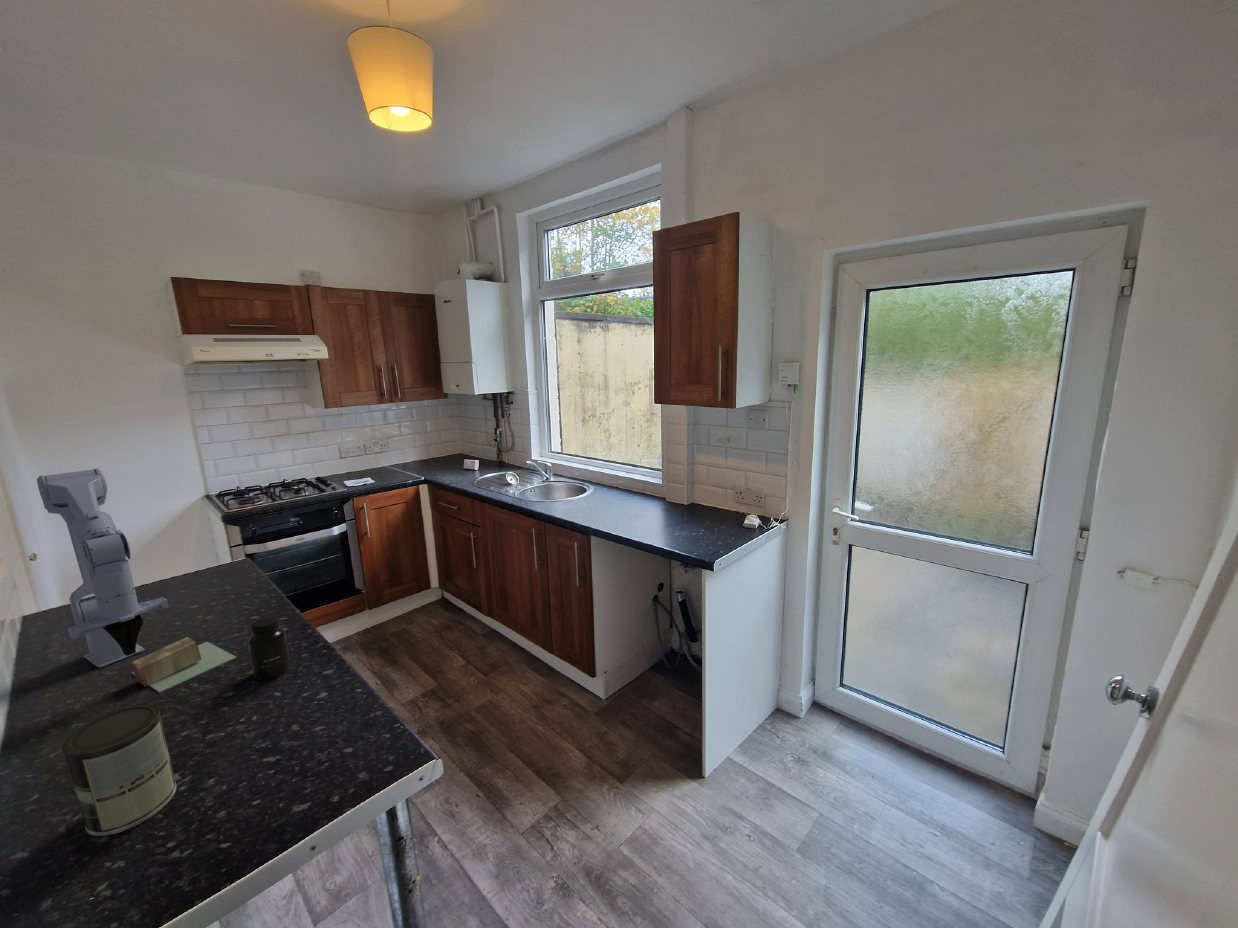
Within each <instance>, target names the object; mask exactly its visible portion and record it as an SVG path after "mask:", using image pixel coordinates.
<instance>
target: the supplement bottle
mask: <svg viewBox="0 0 1238 928" xmlns="http://www.w3.org/2000/svg"><path fill="white" fill-rule="evenodd" d="M250 627H251V634H252V635H250V637H249V638H248V641H247V646H248V652H249V658H250V659H249V660H250V665H251V671H252V676H253V677H254V678H255V679H256V680H260V681H261V680H262V681H264V680H270V679H273V678H276V677H279V676H280V675H283V674H284V673H286V672H287V671H288V669H289V668H290V665H291V662H290V661H291V660H290V653H289V646H288V640H287V632H286V631H285V630H284V629H283V628H282V627H280V621H279V619H278V617H276V616H266V617H262V618H259V619H257V620H255V621H253V622H252V623H251V626H250Z"/></svg>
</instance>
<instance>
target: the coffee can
mask: <svg viewBox="0 0 1238 928" xmlns="http://www.w3.org/2000/svg"><path fill="white" fill-rule="evenodd" d="M61 749H62V752H63V754H64V756H65V758H66V763H67V765H68V768H69V772H70V776H71V780H72V783H73V786H74V789H75V790H74V791H75V793H76V797H77V800H78V804H79V807H80V811H81V814H82V818H83V821H84V825H85V826H84V829H85V832H86V833H88V834H89V835H91V836H95V837H105V836H106V837H107V836H110V835H115V834H119V833H122V832H124V831H127V830H129V829H132V828H134V827H136V826H138V825H140V824H142V823H143V822H145V821H146V820H148V819H150V818H152V817H153V816H154V815H156V814H157V813H158V812H160V811H161V810H162V809H163V808H164V807H165V806H166V805H167V804H168V803H169V802H170V801H171V800H172V798H173V797H174V795H175V793H176V791H177V787H178V785H177V782H176V780H175V776H174V771H173V767H172V762H171V758H170V754H169V749H168V745H167V741H166V737H165V732H164V728H163V723H162V720H161V710H160V708H159V707H158V706H157V705H155V704H152V703H139V704H132V705H128V706H124V707H121V708H117V709H114V710H112V711H111V710H110V711H109V712H106V713H104V714H102V715H99V716H97V717H95V718H93V719H91V720H89V721H87V722H86V723H84V724H82V725H81V726H79V727H78V728H76V729H75V730H74V731H72V732H71V733H70V734H69V735H68V736H67V737H66V739H65V740H63V743H62V745H61Z"/></svg>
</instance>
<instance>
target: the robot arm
mask: <svg viewBox="0 0 1238 928" xmlns="http://www.w3.org/2000/svg"><path fill="white" fill-rule="evenodd" d="M36 483H37V487H38V491H39V495H40V497H41V500H42V503H43V507H44V509H45V510H46V511H47V513H50V514H56V515H60V516H61V518H62V519H63V521H64V522H65V523H66V526H67V527H66V528H67V531H68V533H69V537H70V541H71V544H72V548H73V551H74V554H75V558H76V561H77V564H78V569H79V572H80V575H81V579H82V584H80V586H78V587H77V588H76V589H75V590H74V591H73V592H72V593H71V594H70V596H69V599H68V600H69V603H70V609H71V614H72V617H73V620H74V623H75V625H73V626H70V627H68V628H67V629H68V630H67V631H68V633H69V637H70V638H71V639H72V640H76V639H80V638H81V637H82V636H83V635H85V639H86V643H87V648H88V651H89V653H87V654H84V655H83V656H84V659H86V660H87V661H89V662H90V663H91V664H93V665H94V666H95V667H97V668H100V669H101V668H103V667H105V666H109V665H111V664H114V663H116V662H118V661H121V660H124V659H126V658H129V657H132V656H134V655H137V654H139V653H142V652H144V651H145V648H144V647H143V646H141V645H139V644H138V643H137V641H138V636H139V634H140V631H141V629H142V627H143V625H144V618H142V615H143V616H144V615H146V614H148V613H151V612H154V611H157V610H160V609H161V610H164V609H167V608H169V604H168V599H167V598H165V597H159V598H156V599H151V600H146V601H143V602H142V601H141V602H138V598H137V597H138V596H137V593H136V588H135V583H134V579H133V576H132V575H133V574H132V572H131V571H132V570H131V567H130V563H129V560H131V554H132V553H131V547H130V544H129V541H128V538H127V537H126V535H125V533H124V532H123V531H122V530H120V529H119V530H118V529H117V527H116V525H115V523H114V520H113V518H112V517H111V515H110V514H109V513H107V512H106V511H105V512H104V511H101V510H100V506H102V505H104V504H105V503H106V500H107V492H108V486H107V485H108V484H107V480H106V477H105V475H104V471H103V470H101V469H99V468H97V467H96V468H94V469H87V470H80V471H71V472H65V473H64V472H63V473H56V474H48V475H47V474H46V475H39V477H37V478H36ZM126 558H127V559H126ZM91 595H92V596H91ZM87 596H89V597H87ZM85 597H86V598H85Z"/></svg>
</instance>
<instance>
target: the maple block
mask: <svg viewBox="0 0 1238 928" xmlns="http://www.w3.org/2000/svg"><path fill="white" fill-rule="evenodd" d="M201 659H202V658H201V655H200V652H199V649H198V643H197V641H195V640H193V639H191V638H190V637H188V636H186V637H184V638H182V639H179V640H177V641H175V642H173V643H171V644H169V645H166V646H164V647H162V648H160V649H158V650H155V651H153V652H151V653H149V654H147V655H145V656H142V657H141V658H137V659H136V660H134V661H131V662H130V666H131V668H132V670H133V671H132V672H134V674H135V675H134V676H135V679H136V681H137V682H138V683H139V684H141V685H143V686H144V687H145V688H146V687H148V686H149V685H151V684H153V683H155V682H157V681H159V680H161V679H163V678H165V677H167V676H169V675H171V674H173V673H175V672H177V671H179V670H181V669H183V668H185V667H187V666H189V665H191V664H193V663H195V662H197V661H199V660H201ZM149 687H150V686H149Z"/></svg>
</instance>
